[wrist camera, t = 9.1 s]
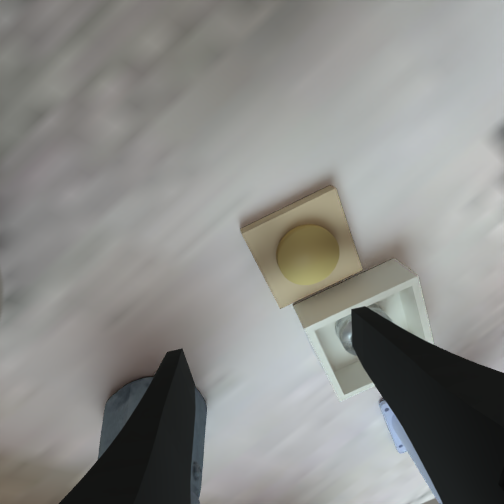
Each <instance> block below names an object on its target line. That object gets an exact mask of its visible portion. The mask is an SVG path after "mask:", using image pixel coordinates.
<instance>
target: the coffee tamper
mask: <svg viewBox="0 0 504 504" xmlns="http://www.w3.org/2000/svg"><path fill="white" fill-rule="evenodd" d="M367 308H369V309H371V310H373V311H374V312H376V313H378V314H379V315H381V316H383V317H384V318H386V319H388V320H389V321H391V322H392V320H391V319H390V318H389V316H388V315H387V314H386V313H385V312H384V311H383V310H382V309H381V308H380V307H379V306H378V305H377V304H375V303H373V304H371V305H369V306H367ZM335 332H336V335H337V337H338V338H339V340H340V342H341V343H342V345H343V347H344V348H345V350H346V351H347V352H349V353H350V354H352V355H356V353H355V351H354V349H353V347H352V321H351V314H350V315H348V316H345V317H343V318H341V319H339V320H337V321H336V324H335ZM356 356H357V355H356Z"/></svg>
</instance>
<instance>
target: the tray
mask: <svg viewBox="0 0 504 504" xmlns="http://www.w3.org/2000/svg"><path fill="white" fill-rule="evenodd" d="M373 303H375V304H377V305H378V306H379V307H380V308H381V309H382V310H383V311H384V312H385V313H386V314H387V315H388V316H389V318H390V319H391V320H392V322H393V323H394V324H396V325H398V326H399V327H401V328H403V329H405V330H406V331H408V332H410V333H412V334H414V335H416V336H417V337H419V338H421V339H423V340H425V341H427V342H429V343H431V344H433V345H434V341H433V337H432V333H431V328H430V324H429V320H428V315H427V311H426V307H425V302H424V298H423V294H422V289H421V285H420V281H419V276H418V275H417V274H415V273H414V272H413V271H411V270H410V269H409V268H407V267H406V266H404V265H403V264H402V263H400V262H399V261H398V260H396V259H395V258H393V259H391V260H389V261H387V262H385V263H383V264H381V265H378V266H376V267H374V268H372V269H370V270H368V271H366V272H364V273H361V274H359V275H357V276H355V277H353V278H351V279H349V280H346V281H344V282H342V283H340V284H338V285H336V286H334V287H332V288H329V289H327V290H325V291H323V292H321V293H319V294H317V295H315V296H312V297H310V298H308V299H306V300H304V301H302V302H300V303H297V304H295V305H293V307H294V309H295V311H296V313H297V315H298V317H299V319H300V321H301V323H302V326H303V328H304V330H305V332H306V334H307V336H308V338H309V340H310V342H311V344H312V346H313V348H314V350H315V352H316V354H317V357H318V359H319V361H320V363H321V365H322V367H323V369H324V371H325V373H326V375H327V377H328V379H329V381H330V383H331V385H332V387H333V389H334V391H335V393H336V396H337V398H338V400H339V402H341V401H343V400H346V399H348V398H350V397H352V396H355V395H357V394H359V393H361V392H363V391H366V390H368V389H370V388H372V387H375V385H374V383H373V382H372V380H371V379H370V377H369V376H368V374H367V373H366V371H365V370H364V368H363V366H362V364H361V362H360V361H359V359H358V357H357V356H356V355H352V354H350V353H349V352H347V351H346V350H345V348H344V347H343V345H342V343H341V342H340V340H339V338H338V337H337V335H336V332H335V324H336V321H337V320H339V319H341V318H343V317H345V316H348V315H350V314H351V309H354V308H359V307H363V306H366V307H367V306H369V305H371V304H373Z"/></svg>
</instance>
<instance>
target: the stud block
mask: <svg viewBox="0 0 504 504" xmlns="http://www.w3.org/2000/svg"><path fill="white" fill-rule="evenodd" d="M240 230H241V233H242V235H243V237H244V239H245V241H246V243H247V245H248V247H249V249H250V251H251V253H252V255H253V257H254V259H255V261H256V263H257V265H258V267H259V269H260V271H261V272H262V274H263V276H264V278H265V280H266V282H267V284H268V286H269V288H270V290H271V292H272V294H273V296H274V298H275V300H276V302H277V304H278V306H279V307H280V309H281V308H283V307H285V306H287V305H290V304H292V303H294V302H296V301H298V300H300V299H302V298H304V297H307V296H309V295H311V294H313V293H315V292H317V291H319V290H321V289H324V288H326V287H328V286H330V285H332V284H334V283H336V282H338V281H341V280H343V279H345V278H347V277H349V276H351V275H353V274H356V273H358V272H360V271H362V270H363V269H362V266H361V263H360V260H359V257H358V254H357V251H356V248H355V245H354V242H353V239H352V236H351V233H350V230H349V227H348V223H347V220H346V217H345V214H344V211H343V208H342V205H341V202H340V199H339V196H338V193H337V190H336V188H335V187H333V186H331V185H329V186H327V187H325V188H323V189H321V190H319V191H317V192H315V193H313V194H311V195H309V196H307V197H305V198H303V199H301V200H299V201H297V202H295V203H293V204H291V205H288V206H286V207H284V208H282V209H280V210H278V211H276V212H274V213H272V214H270V215H268V216H266V217H264V218H262V219H260V220H258V221H256V222H254V223H252V224H250V225H248V226H245V227H243V228H241V229H240Z"/></svg>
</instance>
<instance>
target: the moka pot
mask: <svg viewBox="0 0 504 504" xmlns="http://www.w3.org/2000/svg"><path fill="white" fill-rule="evenodd" d="M153 378H154V377H149V378H142V379H140V380H135V381H133V382H131V383H129V384H127V385H125V386H124V387H123V388H121V389H120V390H119V391H118V392H116V393H115V394H114V395H112V396H111V398H110V399H109V400H108V401H107V402H106V405H105V410H104V416H103V424H102V431H101V438H100V447H99V455H98V459H99V458H100V457H101V456H102V454H103V453H104V452H105V451H106V449H107V448H108V447H109V446H110V444H111V443H112V442H113V440H114V439H115V438H116V436H117V435H118V433H119V432H120V431H121V429H122V428H123V426H124V425H125V423H126V422H127V421H128V419H129V417H130V416H131V414H132V413H133V411H134V410H135V408H136V407H137V405H138V403H139V402H140V400H141V399H142V397H143V395H144V393H145V392H146V390H147V388H148V386H149V385H150V383H151V381H152V379H153ZM195 403H196V412H195V425H194V438H193V451H192V463H191V482H190V485H191V504H200V501H199V496H200V490H201V481H202V467H203V456H204V439H205V426H206V415H207V406H206V403H205V401H204V398H203V397H202V395H201V393H200V392H199V391H198V390H197V389H196V388H195Z"/></svg>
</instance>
